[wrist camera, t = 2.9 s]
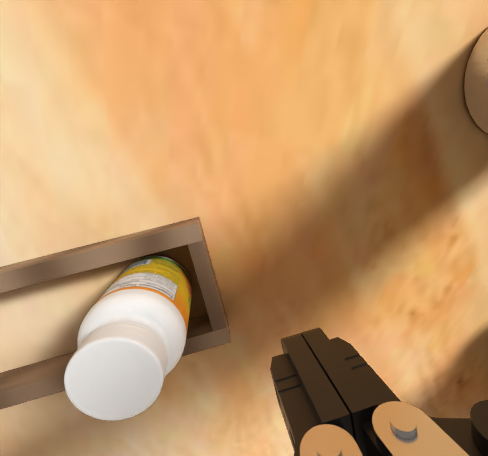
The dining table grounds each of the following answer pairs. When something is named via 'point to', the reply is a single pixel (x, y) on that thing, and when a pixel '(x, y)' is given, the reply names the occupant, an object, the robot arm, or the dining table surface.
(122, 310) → the supplement bottle
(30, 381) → the walnut U-rest
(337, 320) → the dining table surface
